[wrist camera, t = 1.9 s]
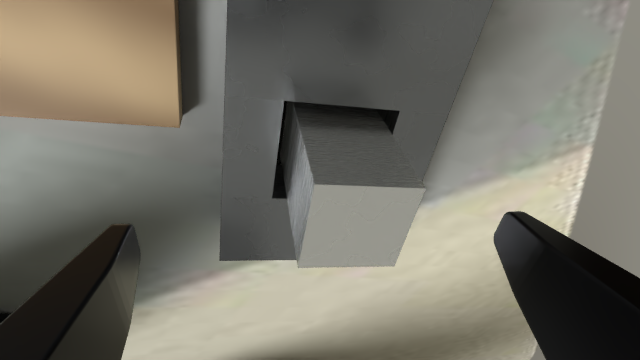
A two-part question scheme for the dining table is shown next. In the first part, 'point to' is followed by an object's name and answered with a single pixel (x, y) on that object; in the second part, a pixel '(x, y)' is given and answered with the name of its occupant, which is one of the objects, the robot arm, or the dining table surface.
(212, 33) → the dining table surface
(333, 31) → the rail
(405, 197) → the brushed metal block
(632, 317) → the robot arm
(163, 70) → the oak pad
